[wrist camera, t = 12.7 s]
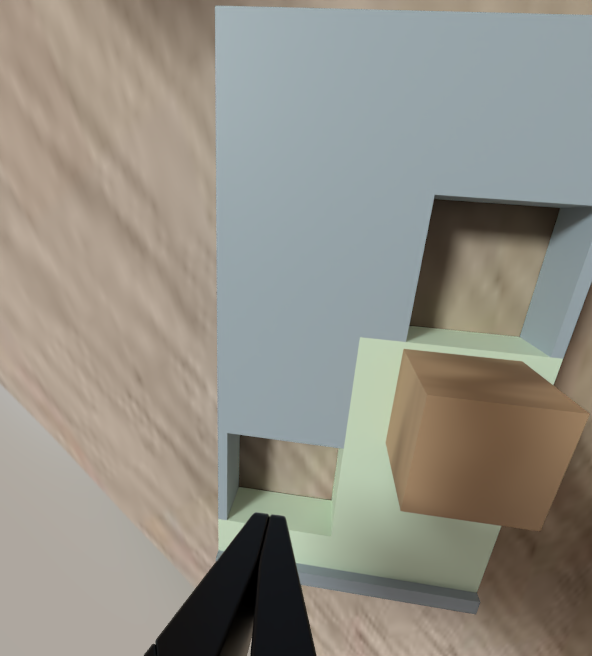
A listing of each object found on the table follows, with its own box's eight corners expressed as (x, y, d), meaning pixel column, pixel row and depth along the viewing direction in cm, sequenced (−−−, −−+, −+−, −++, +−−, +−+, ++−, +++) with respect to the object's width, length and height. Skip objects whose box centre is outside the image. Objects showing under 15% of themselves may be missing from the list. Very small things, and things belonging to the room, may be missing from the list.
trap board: (622, 54, 13) (706, 7, 10) (457, 561, 21) (475, 614, 19) (235, 41, 14) (209, -4, 11) (230, 525, 23) (216, 570, 20)
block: (522, 361, 14) (590, 414, 10) (491, 456, 16) (540, 531, 12) (403, 348, 15) (427, 395, 11) (385, 442, 16) (400, 511, 12)
